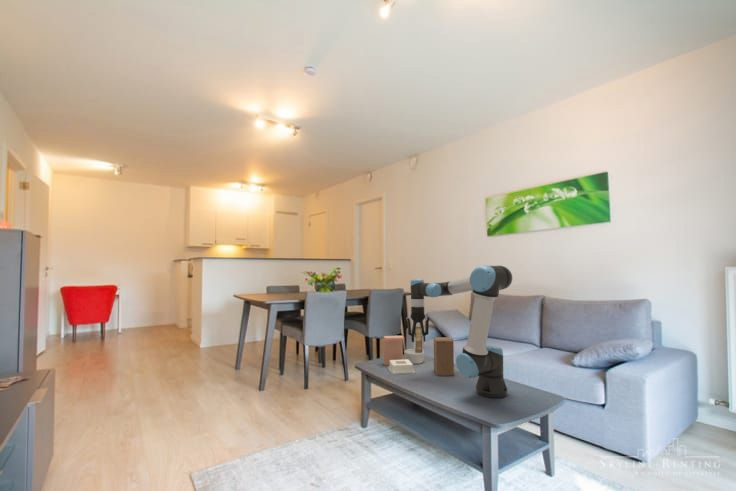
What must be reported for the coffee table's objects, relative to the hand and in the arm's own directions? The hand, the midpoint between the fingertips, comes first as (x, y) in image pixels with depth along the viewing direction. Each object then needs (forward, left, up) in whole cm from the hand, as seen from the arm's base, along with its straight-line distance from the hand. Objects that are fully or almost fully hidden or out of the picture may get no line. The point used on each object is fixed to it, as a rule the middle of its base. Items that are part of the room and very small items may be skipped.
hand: (418, 347), depth 204 cm
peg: (0, 0, -3) cm, 3 cm away
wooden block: (+6, -17, -17) cm, 25 cm away
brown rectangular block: (+26, +9, -17) cm, 32 cm away
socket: (+14, +7, -17) cm, 23 cm away
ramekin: (+32, -6, -17) cm, 37 cm away
